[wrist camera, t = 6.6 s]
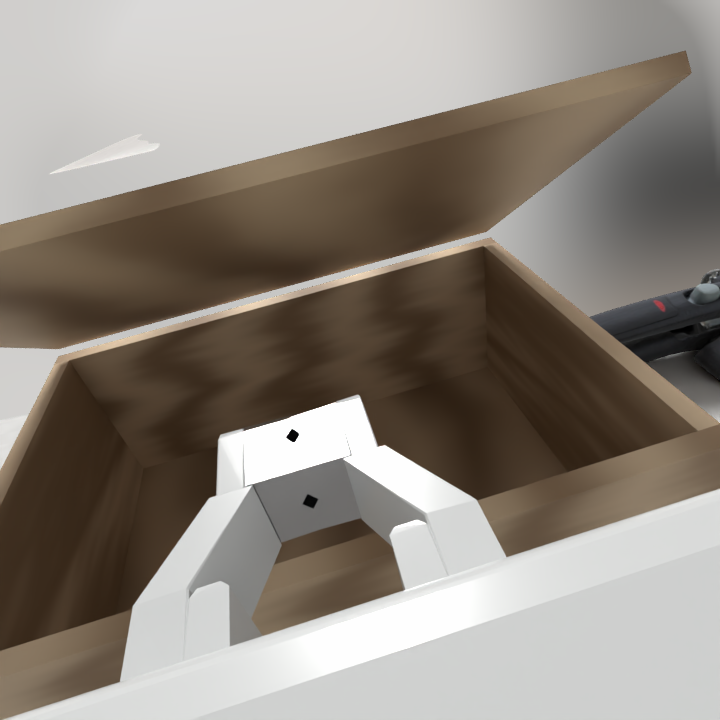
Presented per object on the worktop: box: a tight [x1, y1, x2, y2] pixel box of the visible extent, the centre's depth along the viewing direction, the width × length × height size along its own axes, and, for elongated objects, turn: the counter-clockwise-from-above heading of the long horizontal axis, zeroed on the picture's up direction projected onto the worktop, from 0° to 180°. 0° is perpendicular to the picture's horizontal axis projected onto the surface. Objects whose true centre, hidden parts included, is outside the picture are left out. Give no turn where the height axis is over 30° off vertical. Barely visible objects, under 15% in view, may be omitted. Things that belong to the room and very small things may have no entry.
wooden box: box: [0, 238, 720, 720], centre depth 24 cm, size 26×18×10 cm
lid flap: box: [0, 51, 691, 349], centre depth 20 cm, size 25×16×1 cm
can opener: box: [589, 269, 720, 380], centre depth 31 cm, size 18×7×6 cm, turn 91°
